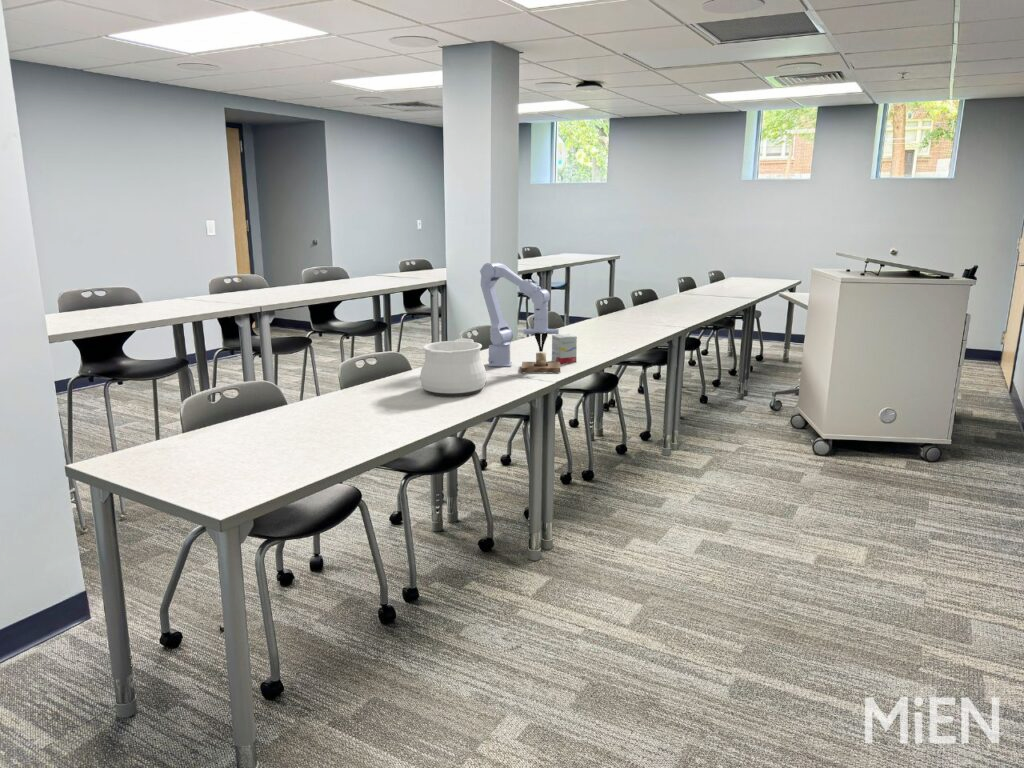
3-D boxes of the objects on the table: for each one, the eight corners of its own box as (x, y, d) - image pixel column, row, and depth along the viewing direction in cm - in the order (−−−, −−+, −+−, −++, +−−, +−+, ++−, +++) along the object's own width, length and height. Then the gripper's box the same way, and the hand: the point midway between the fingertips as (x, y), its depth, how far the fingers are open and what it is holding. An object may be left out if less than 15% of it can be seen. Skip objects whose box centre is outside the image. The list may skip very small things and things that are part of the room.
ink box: (577, 362, 315) (577, 335, 312) (559, 364, 312) (559, 337, 309) (568, 359, 323) (568, 333, 320) (551, 360, 320) (551, 334, 317)
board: (521, 372, 295) (521, 368, 295) (522, 366, 308) (522, 361, 308) (560, 372, 295) (560, 368, 294) (559, 366, 307) (559, 361, 307)
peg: (535, 370, 299) (535, 354, 298) (536, 368, 303) (536, 352, 302) (545, 370, 298) (545, 354, 297) (546, 368, 303) (546, 352, 301)
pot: (438, 380, 284) (437, 336, 280) (497, 384, 277) (496, 339, 273) (407, 397, 258) (405, 349, 254) (470, 402, 250) (469, 353, 246)
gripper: (523, 320, 293) (523, 353, 296) (558, 320, 292) (558, 353, 295) (523, 317, 300) (523, 349, 303) (558, 317, 299) (558, 349, 302)
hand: (541, 351), depth 300 cm, fingers closed
